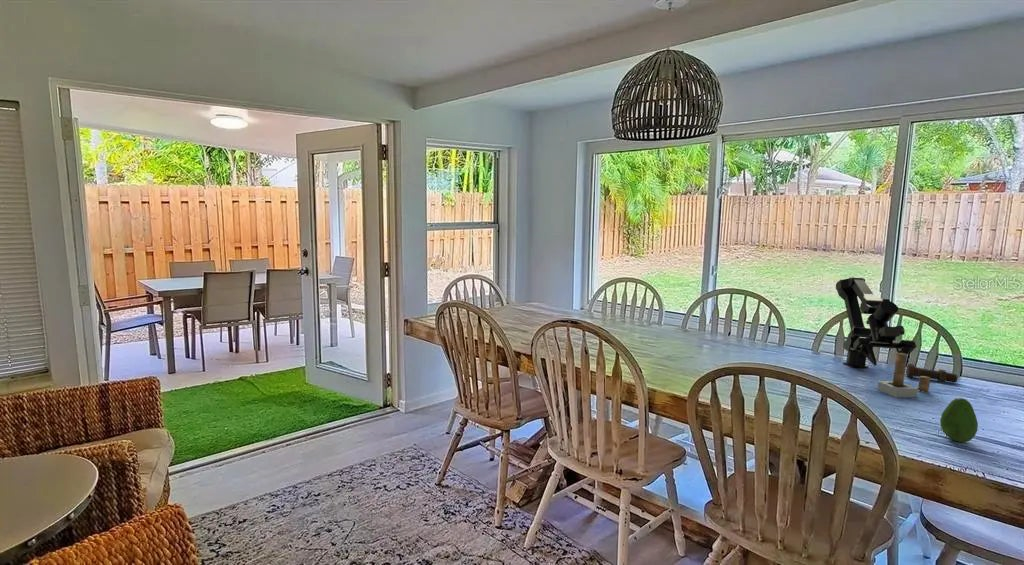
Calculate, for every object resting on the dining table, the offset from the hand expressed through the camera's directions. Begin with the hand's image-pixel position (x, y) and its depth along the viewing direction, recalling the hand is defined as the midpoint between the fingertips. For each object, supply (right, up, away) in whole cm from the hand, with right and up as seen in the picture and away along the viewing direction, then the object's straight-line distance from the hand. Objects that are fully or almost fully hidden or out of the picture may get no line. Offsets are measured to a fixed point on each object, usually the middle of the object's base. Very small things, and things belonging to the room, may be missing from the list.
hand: (889, 366), depth 194 cm
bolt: (+23, -7, +11) cm, 26 cm away
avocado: (-12, -14, -44) cm, 47 cm away
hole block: (-2, -8, -6) cm, 10 cm away
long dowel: (-2, -8, -6) cm, 10 cm away
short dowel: (+10, -8, -2) cm, 13 cm away
